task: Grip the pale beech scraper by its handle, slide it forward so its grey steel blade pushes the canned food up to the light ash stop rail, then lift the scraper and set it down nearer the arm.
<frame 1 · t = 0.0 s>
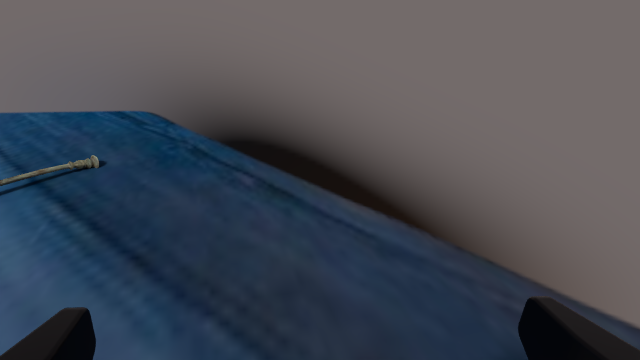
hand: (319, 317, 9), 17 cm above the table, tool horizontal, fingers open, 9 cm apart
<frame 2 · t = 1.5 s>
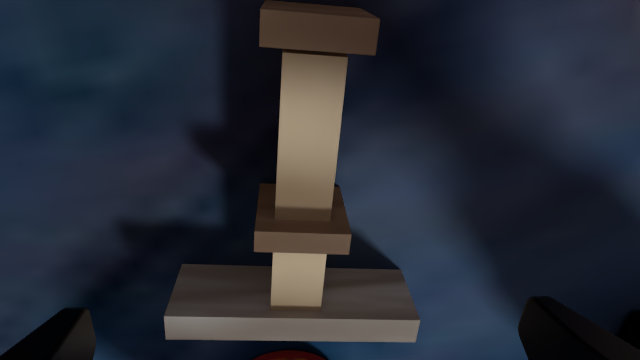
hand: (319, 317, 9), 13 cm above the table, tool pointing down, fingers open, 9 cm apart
scraper: (293, 277, 25), on the table
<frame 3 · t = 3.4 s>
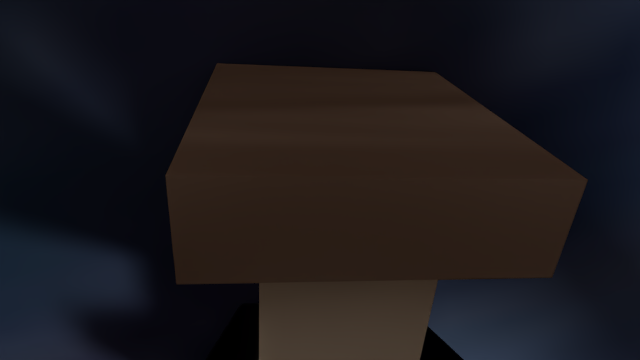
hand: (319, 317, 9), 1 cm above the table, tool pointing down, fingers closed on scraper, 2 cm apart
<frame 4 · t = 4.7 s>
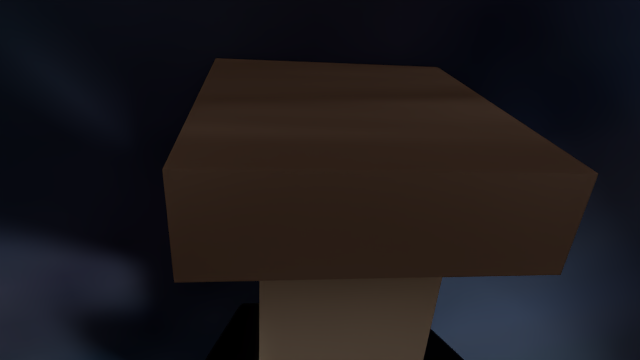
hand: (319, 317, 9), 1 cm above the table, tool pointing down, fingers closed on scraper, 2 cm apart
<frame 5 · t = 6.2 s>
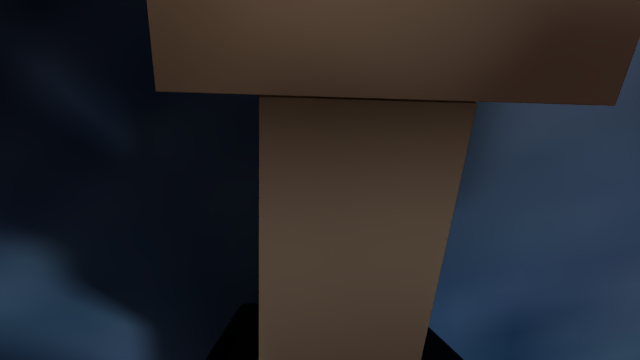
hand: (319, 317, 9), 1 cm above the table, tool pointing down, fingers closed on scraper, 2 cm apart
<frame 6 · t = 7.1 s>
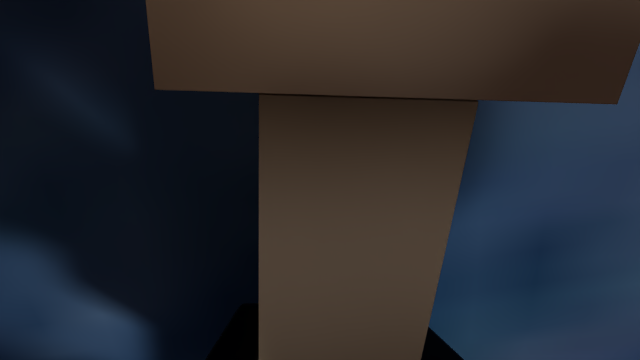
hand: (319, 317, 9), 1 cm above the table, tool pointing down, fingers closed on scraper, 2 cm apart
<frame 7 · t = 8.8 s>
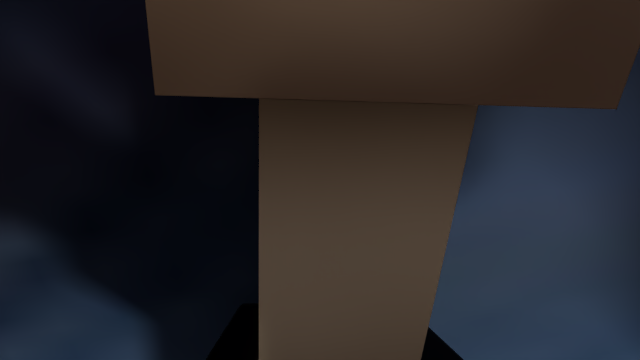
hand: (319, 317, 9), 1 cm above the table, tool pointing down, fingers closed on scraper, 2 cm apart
when the fingers open (2 cm above the table, at t = 12.8 s): scraper stays where it is, on the table.
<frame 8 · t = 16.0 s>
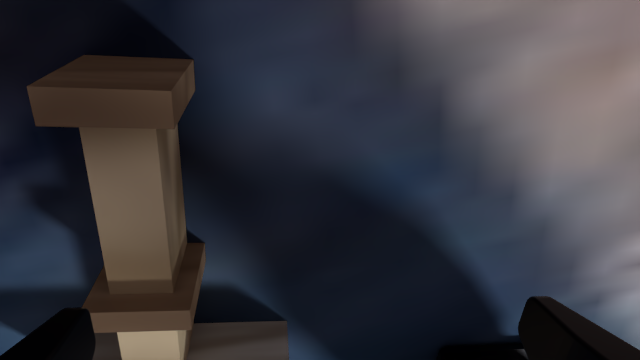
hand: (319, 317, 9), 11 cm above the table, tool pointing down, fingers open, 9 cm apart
scraper: (171, 334, 23), on the table
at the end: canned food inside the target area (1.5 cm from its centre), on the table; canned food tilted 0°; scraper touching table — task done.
